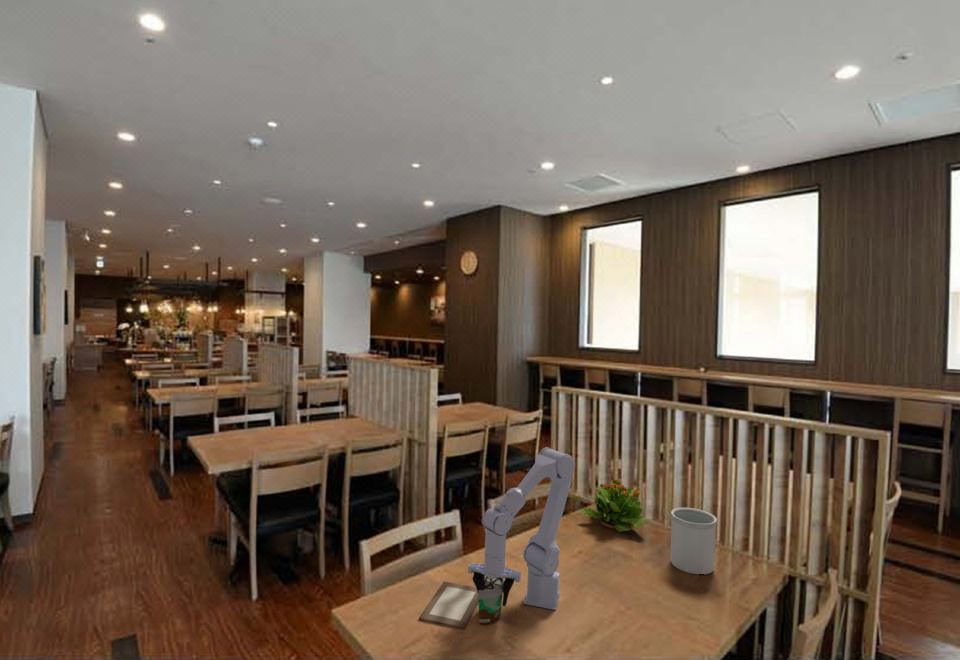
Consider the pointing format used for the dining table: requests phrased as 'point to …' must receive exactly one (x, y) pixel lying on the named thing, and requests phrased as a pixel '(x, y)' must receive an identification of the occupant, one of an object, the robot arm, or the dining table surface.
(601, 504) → the potted flower
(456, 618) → the brown picture frame
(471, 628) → the dining table surface
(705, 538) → the utensil holder
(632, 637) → the dining table surface
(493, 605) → the food container
